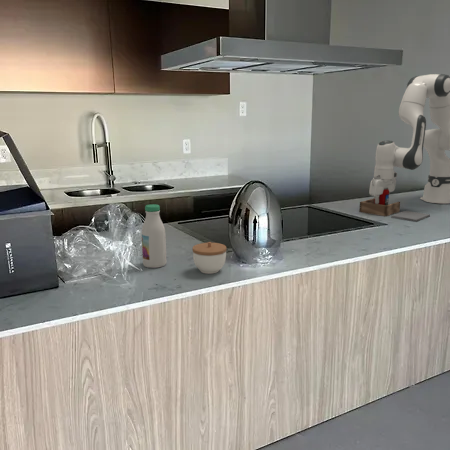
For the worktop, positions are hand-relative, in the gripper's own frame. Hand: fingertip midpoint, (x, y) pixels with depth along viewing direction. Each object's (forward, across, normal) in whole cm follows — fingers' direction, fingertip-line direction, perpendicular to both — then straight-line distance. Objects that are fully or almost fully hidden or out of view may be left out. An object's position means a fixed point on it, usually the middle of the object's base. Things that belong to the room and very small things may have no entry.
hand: (381, 202), depth 230 cm
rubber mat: (+5, -2, -16) cm, 17 cm away
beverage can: (+5, 0, 0) cm, 5 cm away
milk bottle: (+5, -128, +14) cm, 129 cm away
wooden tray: (+5, -1, 0) cm, 5 cm away
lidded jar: (+5, -119, -3) cm, 119 cm away
